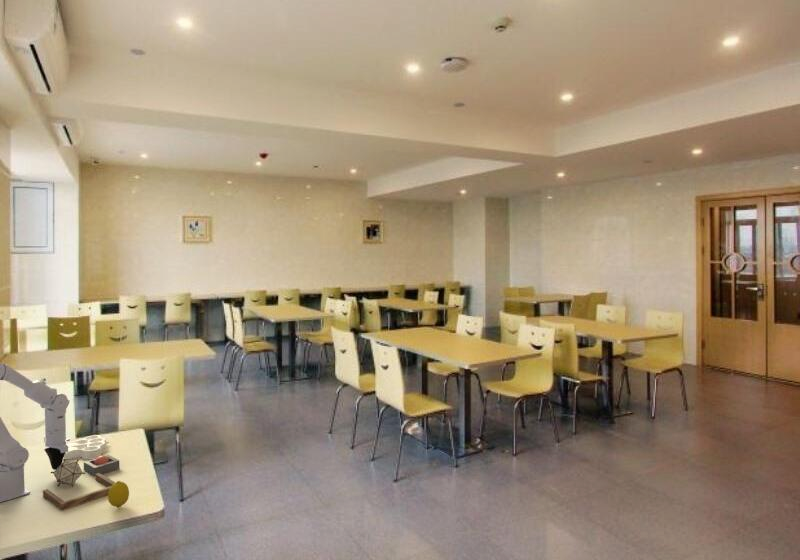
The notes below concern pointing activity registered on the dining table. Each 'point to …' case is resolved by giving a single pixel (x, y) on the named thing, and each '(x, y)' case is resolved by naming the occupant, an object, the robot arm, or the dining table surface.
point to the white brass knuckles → (86, 447)
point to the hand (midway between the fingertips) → (56, 468)
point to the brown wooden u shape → (81, 499)
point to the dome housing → (101, 466)
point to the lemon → (118, 494)
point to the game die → (68, 472)
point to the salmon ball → (101, 460)
